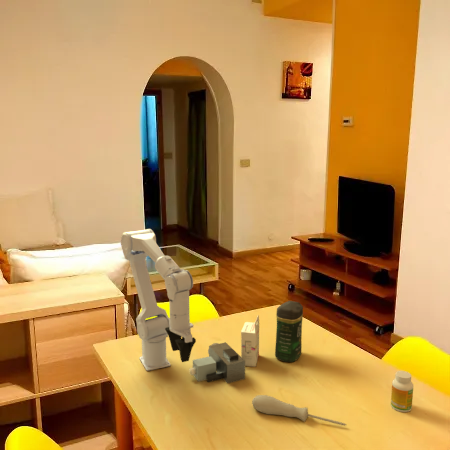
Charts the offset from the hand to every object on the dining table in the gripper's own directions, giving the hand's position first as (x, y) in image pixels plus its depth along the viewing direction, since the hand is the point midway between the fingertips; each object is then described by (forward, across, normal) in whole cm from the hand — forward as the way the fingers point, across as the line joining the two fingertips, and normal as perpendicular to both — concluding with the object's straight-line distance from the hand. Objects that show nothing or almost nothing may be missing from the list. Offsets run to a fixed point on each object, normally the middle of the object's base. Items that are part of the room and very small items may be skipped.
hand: (180, 355), depth 137 cm
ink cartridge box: (+9, +3, -26) cm, 27 cm away
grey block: (+9, +1, -8) cm, 12 cm away
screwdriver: (+9, -30, -22) cm, 38 cm away
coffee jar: (+9, 0, -38) cm, 39 cm away
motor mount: (+9, +1, -13) cm, 16 cm away
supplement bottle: (+9, -38, -50) cm, 63 cm away
